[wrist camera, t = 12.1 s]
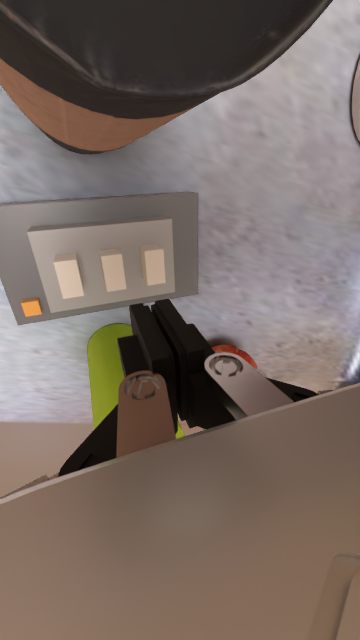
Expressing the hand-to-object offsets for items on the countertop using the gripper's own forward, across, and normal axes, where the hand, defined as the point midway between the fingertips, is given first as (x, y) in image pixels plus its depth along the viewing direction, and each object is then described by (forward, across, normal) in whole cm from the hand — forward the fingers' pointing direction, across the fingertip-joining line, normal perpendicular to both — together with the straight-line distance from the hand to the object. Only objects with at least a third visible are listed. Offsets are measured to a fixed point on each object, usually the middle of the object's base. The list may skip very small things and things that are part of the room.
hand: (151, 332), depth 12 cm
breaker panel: (+15, +1, 0) cm, 15 cm away
